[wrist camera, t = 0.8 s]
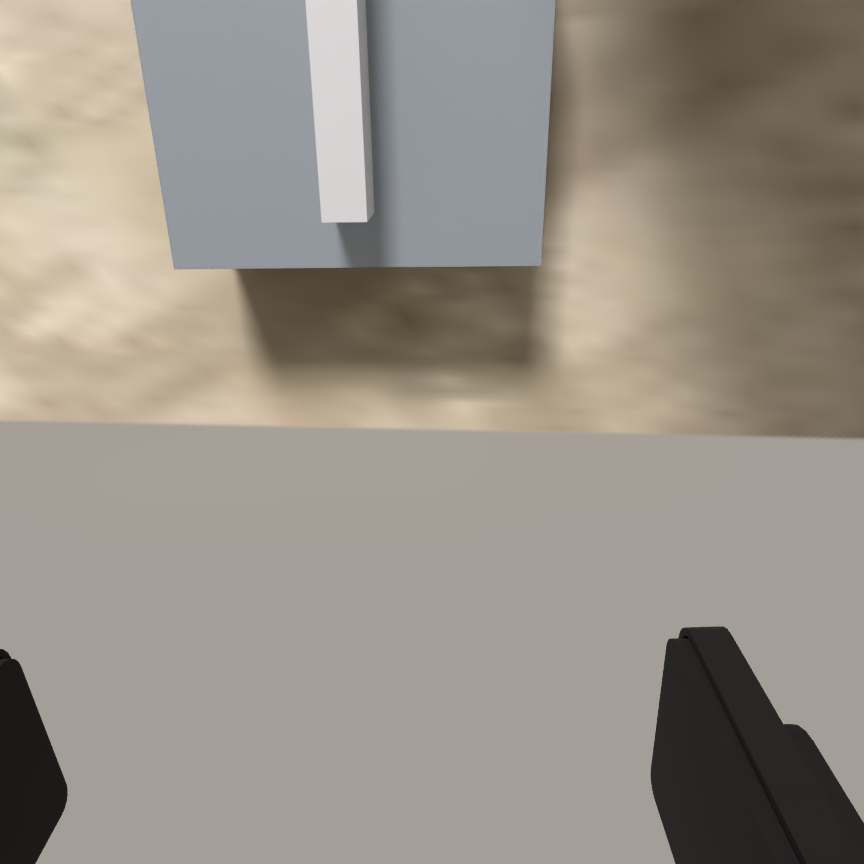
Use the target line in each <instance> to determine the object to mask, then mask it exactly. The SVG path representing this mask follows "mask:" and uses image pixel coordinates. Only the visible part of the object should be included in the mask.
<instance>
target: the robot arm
mask: <svg viewBox="0 0 864 864" xmlns="http://www.w3.org/2000/svg"><path fill="white" fill-rule="evenodd" d="M651 784H652V790H653V795H654V798H655V802H656V805H657V808H658V811H659V814H660V817H661V820H662V823H663V826H664V830H665V832H666V836H667V839H668V842H669V845H670V848H671V851H672V854H673V857H674V860H675V863H676V864H864V823H863V821H862V820H861V818H860V816H859V815H858V813H857V812H856V810H855V808H854V807H853V805H852V803H851V802H850V800H849V799H848V797H847V795H846V794H845V792H844V790H843V789H842V787H841V785H840V784H839V782H838V781H837V779H836V777H835V776H834V774H833V773H832V771H831V769H830V767H829V766H828V764H827V763H826V761H825V759H824V758H823V756H822V755H821V753H820V751H819V750H818V748H817V746H816V745H815V743H814V741H813V740H812V739H811V737H810V736H809V735H808V734H807V732H806V731H805V730H804V729H802V728H801V727H800V726H798V725H793V724H783V723H782V721H781V719H780V718H779V716H778V714H777V713H776V711H775V709H774V707H773V706H772V704H771V702H770V700H769V699H768V697H767V695H766V694H765V692H764V690H763V688H762V687H761V685H760V683H759V682H758V680H757V678H756V676H755V675H754V673H753V671H752V669H751V668H750V666H749V664H748V663H747V661H746V659H745V657H744V656H743V654H742V652H741V651H740V649H739V647H738V645H737V644H736V642H735V640H734V638H733V637H732V635H731V634H730V632H729V631H728V629H727V628H725V627H691V628H682V630H681V631H680V634H679V638H678V639H669V640H668V642H667V646H666V654H665V662H664V670H663V678H662V687H661V694H660V702H659V709H658V717H657V725H656V733H655V742H654V749H653V757H652V765H651ZM66 802H67V785H66V782H65V779H64V777H63V774H62V771H61V769H60V766H59V764H58V761H57V758H56V756H55V753H54V751H53V748H52V746H51V743H50V740H49V738H48V735H47V732H46V730H45V727H44V725H43V722H42V720H41V717H40V714H39V712H38V709H37V707H36V704H35V701H34V699H33V696H32V694H31V691H30V688H29V686H28V683H27V681H26V678H25V676H24V673H23V670H22V668H21V666H20V664H19V662H18V661H17V660H15V659H11V657H10V656H9V654H8V653H7V652H6V651H5V650H3V649H0V864H35V863H36V861H37V859H38V857H39V856H40V854H41V852H42V850H43V848H44V847H45V845H46V843H47V841H48V839H49V837H50V835H51V833H52V832H53V830H54V828H55V826H56V825H57V823H58V821H59V819H60V817H61V815H62V813H63V811H64V809H65V805H66Z"/></svg>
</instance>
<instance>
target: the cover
mask: <svg viewBox="0 0 864 864" xmlns="http://www.w3.org/2000/svg"><path fill="white" fill-rule="evenodd" d="M555 1H556V0H131V5H132V12H133V18H134V24H135V30H136V36H137V43H138V49H139V55H140V61H141V67H142V73H143V80H144V86H145V92H146V98H147V104H148V110H149V117H150V123H151V129H152V135H153V141H154V147H155V154H156V160H157V166H158V172H159V178H160V184H161V191H162V197H163V203H164V209H165V215H166V221H167V228H168V234H169V240H170V246H171V252H172V258H173V265H174V269H260V268H365V267H470V266H541V259H542V241H543V222H544V204H545V185H546V167H547V149H548V130H549V112H550V93H551V75H552V57H553V38H554V20H555Z"/></svg>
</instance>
